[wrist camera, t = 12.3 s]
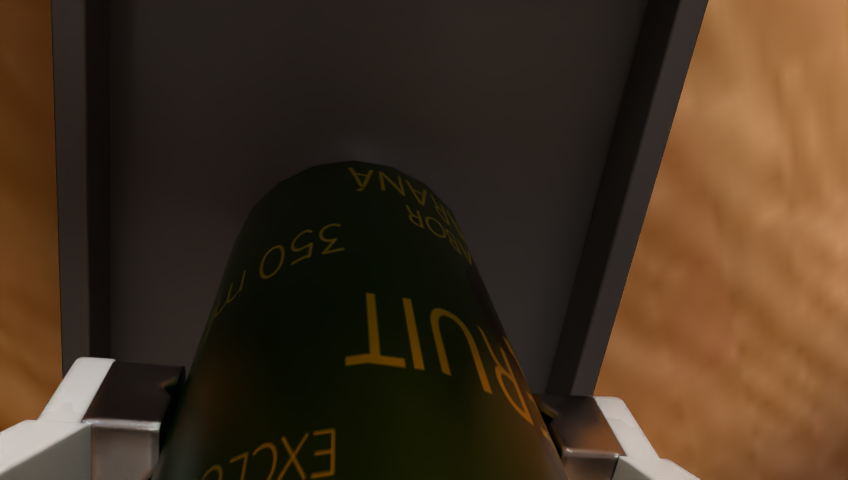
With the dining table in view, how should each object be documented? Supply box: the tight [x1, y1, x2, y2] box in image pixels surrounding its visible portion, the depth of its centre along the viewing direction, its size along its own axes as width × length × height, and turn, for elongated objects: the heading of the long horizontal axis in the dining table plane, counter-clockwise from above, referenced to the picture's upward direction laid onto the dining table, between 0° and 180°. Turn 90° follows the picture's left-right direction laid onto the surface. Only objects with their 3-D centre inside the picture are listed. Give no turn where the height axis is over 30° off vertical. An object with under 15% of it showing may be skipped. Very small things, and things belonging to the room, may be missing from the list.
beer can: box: [151, 160, 569, 480], centre depth 11 cm, size 5×5×12 cm
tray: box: [51, 0, 708, 396], centre depth 16 cm, size 15×12×2 cm
